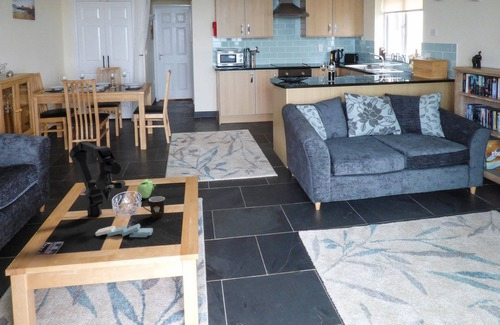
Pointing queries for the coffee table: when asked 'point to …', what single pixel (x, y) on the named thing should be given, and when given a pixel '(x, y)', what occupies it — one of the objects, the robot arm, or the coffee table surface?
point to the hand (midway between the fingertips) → (107, 199)
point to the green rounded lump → (145, 188)
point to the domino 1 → (105, 230)
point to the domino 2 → (117, 231)
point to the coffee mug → (156, 206)
